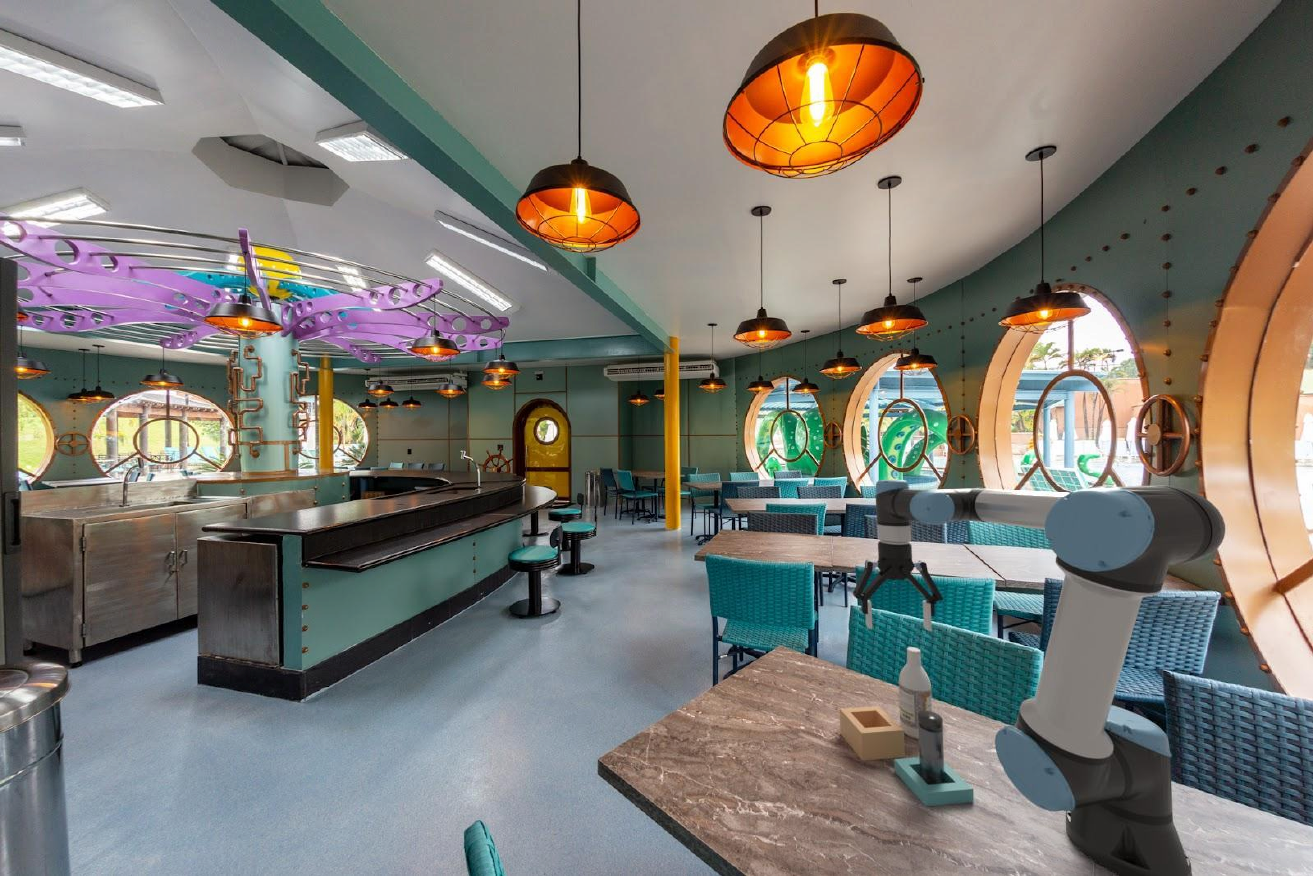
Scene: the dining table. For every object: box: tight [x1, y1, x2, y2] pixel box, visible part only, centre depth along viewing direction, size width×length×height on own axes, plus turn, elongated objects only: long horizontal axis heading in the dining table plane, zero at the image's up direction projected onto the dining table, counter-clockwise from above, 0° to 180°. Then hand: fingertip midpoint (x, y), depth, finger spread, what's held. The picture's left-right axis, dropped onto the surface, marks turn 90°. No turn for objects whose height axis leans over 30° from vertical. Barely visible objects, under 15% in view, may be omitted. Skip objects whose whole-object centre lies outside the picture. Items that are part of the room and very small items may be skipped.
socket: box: [839, 705, 906, 761], centre depth 109 cm, size 10×10×6 cm
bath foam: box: [898, 646, 933, 740], centre depth 114 cm, size 7×7×20 cm
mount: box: [893, 756, 975, 807], centre depth 95 cm, size 10×10×2 cm
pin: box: [918, 711, 945, 785], centre depth 95 cm, size 4×4×14 cm
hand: (898, 628), depth 115 cm, fingers open, 13 cm apart
